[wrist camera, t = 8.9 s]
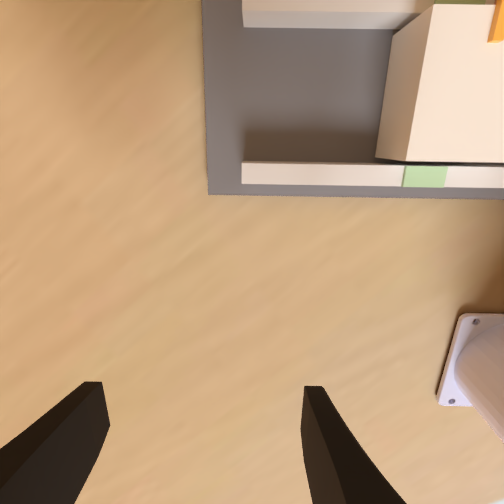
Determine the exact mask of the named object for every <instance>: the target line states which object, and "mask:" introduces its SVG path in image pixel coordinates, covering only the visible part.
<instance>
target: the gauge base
mask: <svg viewBox="0 0 504 504" xmlns="http://www.w3.org/2000/svg"><path fill="white" fill-rule="evenodd" d="M496 3H497V0H202V25H203V54H204V83H205V113H206V142H207V171H208V195H254V196H315V197H375V198H435V199H496V200H504V163H493V162H430V161H401V160H393V159H385V158H376V157H375V154H376V147H377V140H378V133H379V126H380V120H381V113H382V106H383V99H384V92H385V85H386V78H387V71H388V65H389V58H390V51H391V44H392V37H393V35H395V34H396V33H397V32H398V31H400V30H401V29H402V28H404V27H405V26H406V25H407V24H409V23H410V22H411V21H413V20H414V19H415V18H416V17H418V16H419V15H420V14H422V13H423V12H424V11H425V10H427V9H428V8H429V7H431V6H432V5H433V4H471V5H496Z"/></svg>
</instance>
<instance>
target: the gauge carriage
mask: <svg viewBox="0 0 504 504" xmlns="http://www.w3.org/2000/svg"><path fill="white" fill-rule="evenodd" d="M375 157H376V158H385V159H393V160H401V161H430V162H493V163H504V0H497V3H496V5H471V4H433V5H432V6H431V7H429V8H428V9H427V10H425V11H424V12H423V13H422V14H420V15H419V16H418V17H416V18H415V19H414V20H413V21H411V22H410V23H409V24H407V25H406V26H405V27H404V28H402V29H401V30H400V31H398V32H397V33H396V34H395V35H393V37H392V44H391V51H390V58H389V65H388V71H387V78H386V85H385V92H384V99H383V106H382V113H381V120H380V126H379V133H378V140H377V147H376V154H375Z"/></svg>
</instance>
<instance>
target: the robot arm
mask: <svg viewBox="0 0 504 504" xmlns="http://www.w3.org/2000/svg"><path fill="white" fill-rule="evenodd" d="M475 319H476V320H475ZM473 320H475V321H474V322H473ZM436 400H437V402H438V403H439V404H440V405H443V406H473V407H474V408H475V409H476V410H477V412H478V413H479V414H480V415H481V417H482V418H483V419H484V420H485V421H486V423H487V424H488V425H489V426H490V427H491V429H492V430H493V431H494V432H495V434H496V435H497V436H498V437H499V438H500V440H501V441H502V442H503V443H504V314H490V313H465V314H462V315H461V316H460V317H459V319H458V322H457V326H456V329H455V333H454V336H453V340H452V344H451V347H450V351H449V354H448V358H447V361H446V365H445V368H444V372H443V375H442V379H441V382H440V386H439V389H438V393H437V396H436ZM109 427H110V421H109V416H108V411H107V406H106V401H105V396H104V390H103V385H102V382H84V383H82V384H81V385H80V386H79V387H77V388H76V389H75V390H74V391H72V392H71V393H70V394H69V395H67V396H66V397H65V398H64V399H63V400H61V401H60V402H59V403H58V404H57V405H55V406H54V407H53V408H52V409H50V410H49V411H48V412H47V413H46V414H44V415H43V416H42V417H41V418H39V419H38V420H37V421H36V422H34V423H33V424H32V425H31V426H29V427H28V428H27V429H26V430H24V431H23V432H22V433H21V434H19V435H18V436H17V437H15V438H14V439H13V440H11V441H10V442H9V443H7V444H6V445H5V446H3V447H2V448H1V449H0V504H74V503H75V501H76V499H77V497H78V495H79V494H80V492H81V490H82V488H83V486H84V484H85V482H86V480H87V478H88V476H89V474H90V472H91V470H92V468H93V466H94V464H95V462H96V460H97V458H98V456H99V453H100V451H101V448H102V446H103V443H104V441H105V438H106V435H107V432H108V430H109ZM301 438H302V448H303V456H304V463H305V468H306V473H307V478H308V483H309V488H310V493H311V497H312V502H313V504H406V503H405V501H404V500H403V499H402V498H401V497H400V496H399V494H398V493H397V492H396V491H395V490H394V488H393V487H392V486H391V485H390V484H389V482H388V481H387V480H386V479H385V477H384V476H383V475H382V474H381V472H380V471H379V470H378V469H377V467H376V466H375V465H374V463H373V462H372V461H371V459H370V458H369V457H368V455H367V454H366V453H365V451H364V450H363V449H362V447H361V446H360V444H359V443H358V441H357V440H356V439H355V437H354V436H353V434H352V433H351V431H350V430H349V428H348V427H347V425H346V424H345V422H344V421H343V419H342V418H341V416H340V414H339V413H338V411H337V410H336V408H335V406H334V405H333V403H332V401H331V400H330V398H329V396H328V394H327V393H326V391H325V389H324V388H323V387H322V386H304V397H303V408H302V419H301Z"/></svg>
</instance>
